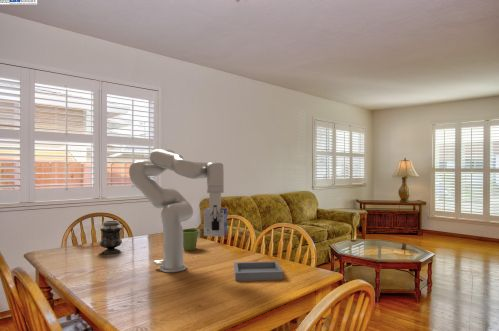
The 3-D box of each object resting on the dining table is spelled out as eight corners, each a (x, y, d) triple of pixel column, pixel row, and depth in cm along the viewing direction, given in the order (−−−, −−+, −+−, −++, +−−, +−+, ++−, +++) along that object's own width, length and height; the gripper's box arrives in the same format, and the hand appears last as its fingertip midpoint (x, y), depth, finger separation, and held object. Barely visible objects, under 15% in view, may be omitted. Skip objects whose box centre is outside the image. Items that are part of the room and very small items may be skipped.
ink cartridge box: (227, 234, 154) (227, 203, 154) (224, 237, 149) (224, 204, 149) (207, 233, 156) (207, 202, 156) (203, 236, 151) (203, 204, 151)
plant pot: (189, 245, 209) (189, 227, 209) (203, 248, 202) (203, 229, 202) (175, 249, 200) (175, 230, 200) (189, 252, 193) (189, 233, 193)
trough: (235, 281, 145) (235, 273, 145) (234, 269, 161) (234, 262, 161) (283, 279, 147) (283, 271, 147) (277, 268, 163) (277, 261, 163)
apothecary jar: (126, 251, 196) (126, 220, 196) (108, 256, 186) (108, 223, 186) (113, 248, 203) (113, 218, 203) (95, 253, 193) (95, 221, 193)
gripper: (208, 188, 161) (208, 225, 161) (206, 191, 144) (206, 232, 144) (223, 188, 161) (223, 225, 161) (223, 190, 144) (223, 232, 144)
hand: (215, 228), depth 153 cm, fingers closed on ink cartridge box, 6 cm apart
